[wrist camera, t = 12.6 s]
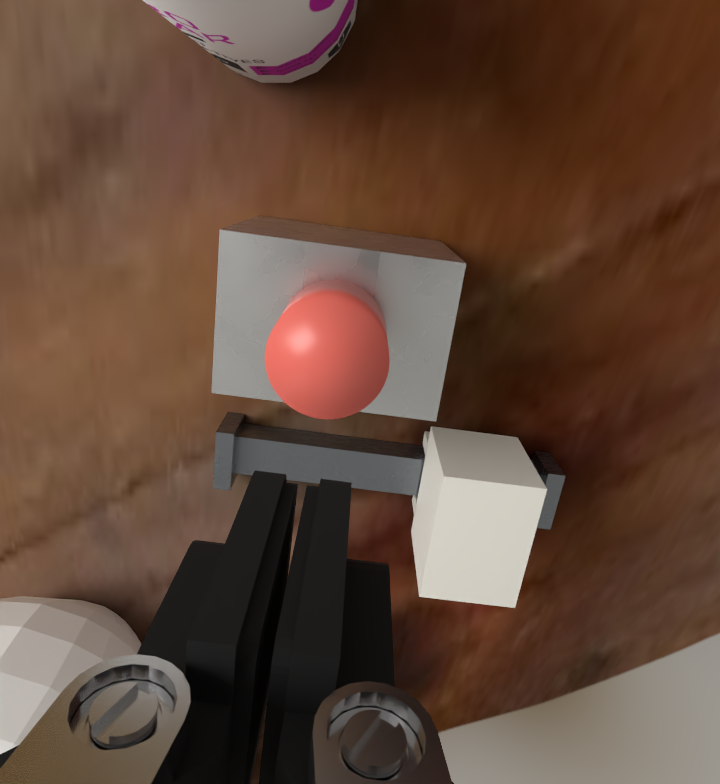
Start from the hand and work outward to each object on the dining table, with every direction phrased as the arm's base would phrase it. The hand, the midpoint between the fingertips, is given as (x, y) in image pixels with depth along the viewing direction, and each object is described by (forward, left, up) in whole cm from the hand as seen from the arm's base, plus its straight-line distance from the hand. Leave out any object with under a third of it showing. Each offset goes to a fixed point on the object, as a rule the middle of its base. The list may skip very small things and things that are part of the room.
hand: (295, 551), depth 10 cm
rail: (-4, +10, -25) cm, 27 cm away
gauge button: (0, 0, -18) cm, 18 cm away
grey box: (0, 0, -25) cm, 25 cm away
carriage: (-8, +10, -25) cm, 28 cm away
